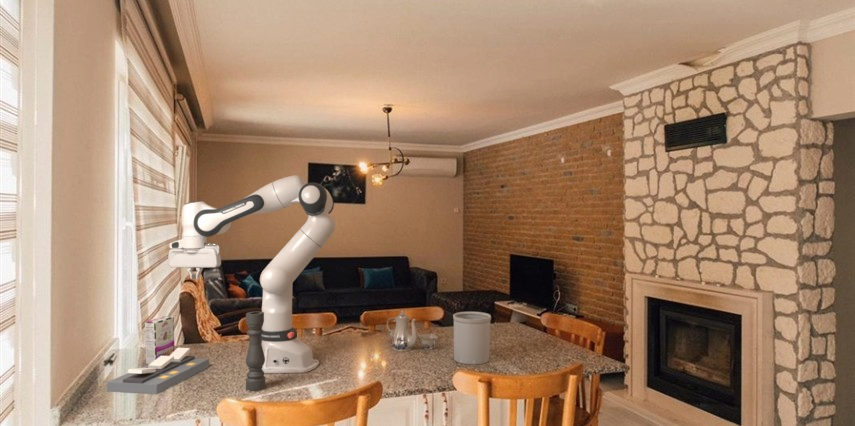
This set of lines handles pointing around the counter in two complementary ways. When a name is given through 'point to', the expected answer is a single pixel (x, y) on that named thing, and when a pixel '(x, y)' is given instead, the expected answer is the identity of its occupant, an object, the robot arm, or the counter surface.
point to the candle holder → (255, 352)
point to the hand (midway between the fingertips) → (195, 279)
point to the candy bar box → (159, 338)
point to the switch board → (158, 377)
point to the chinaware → (408, 335)
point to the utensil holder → (471, 337)
